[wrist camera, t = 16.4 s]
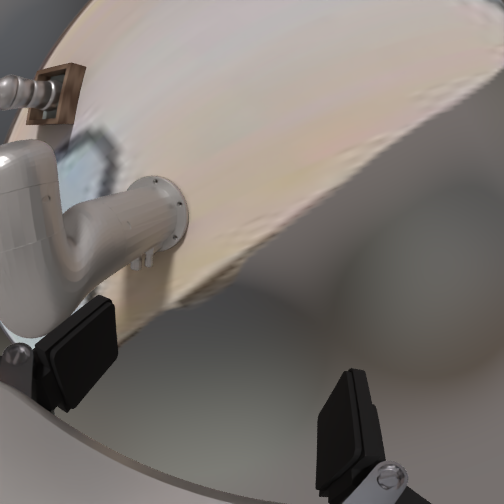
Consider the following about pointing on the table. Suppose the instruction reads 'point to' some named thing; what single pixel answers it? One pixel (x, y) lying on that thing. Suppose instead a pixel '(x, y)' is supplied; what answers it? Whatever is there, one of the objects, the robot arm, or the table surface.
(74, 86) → the square wooden frame
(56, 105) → the silver rounded threaded piece
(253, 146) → the table surface
